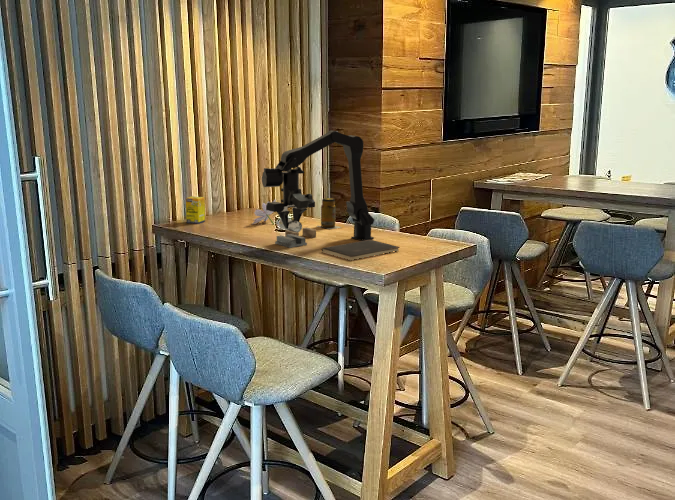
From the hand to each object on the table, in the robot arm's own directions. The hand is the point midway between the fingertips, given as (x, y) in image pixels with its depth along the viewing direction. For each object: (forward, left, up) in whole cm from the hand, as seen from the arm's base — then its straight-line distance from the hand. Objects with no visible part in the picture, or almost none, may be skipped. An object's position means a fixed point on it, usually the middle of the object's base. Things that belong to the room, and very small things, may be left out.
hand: (291, 227), depth 252 cm
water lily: (+41, -17, -7) cm, 45 cm away
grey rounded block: (+7, -10, -6) cm, 14 cm away
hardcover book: (-25, -12, -7) cm, 29 cm away
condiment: (+17, -33, -7) cm, 38 cm away
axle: (+1, 0, -1) cm, 1 cm away
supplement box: (+60, +6, -6) cm, 61 cm away
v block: (0, 0, -6) cm, 6 cm away
